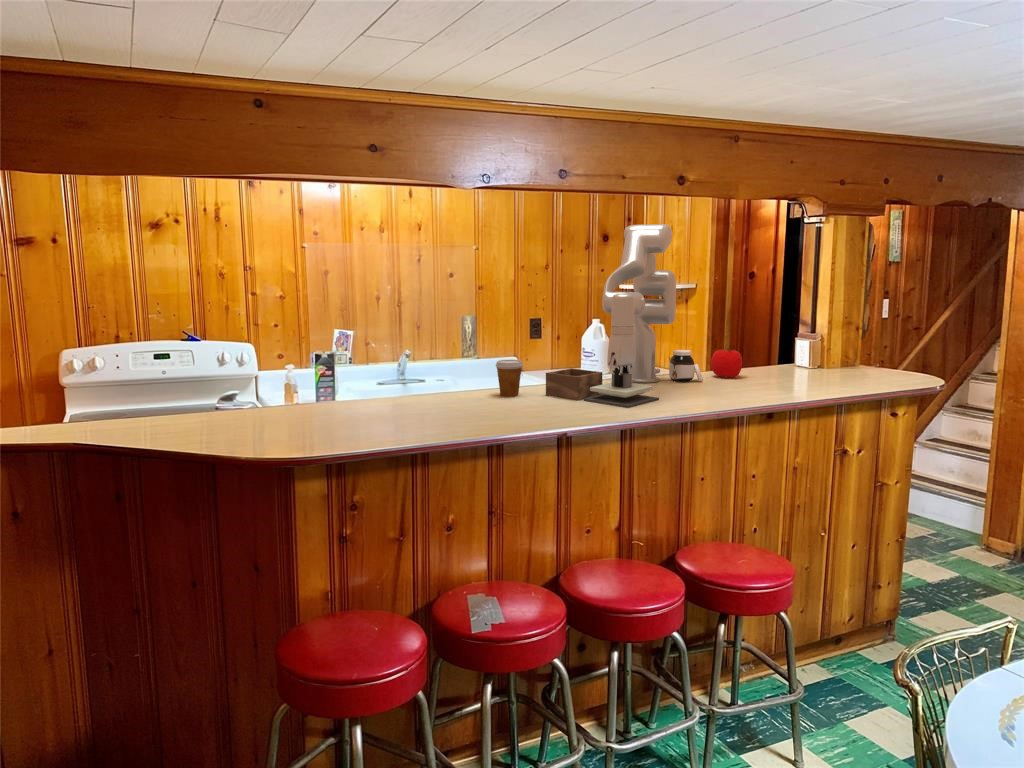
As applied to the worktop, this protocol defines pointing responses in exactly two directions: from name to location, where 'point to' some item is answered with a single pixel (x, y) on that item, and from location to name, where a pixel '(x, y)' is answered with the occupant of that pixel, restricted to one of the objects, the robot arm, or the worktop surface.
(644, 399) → the mat
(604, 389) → the lid
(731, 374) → the red apple
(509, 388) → the disposable coffee cup
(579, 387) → the box
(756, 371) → the worktop surface
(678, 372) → the spread jar
